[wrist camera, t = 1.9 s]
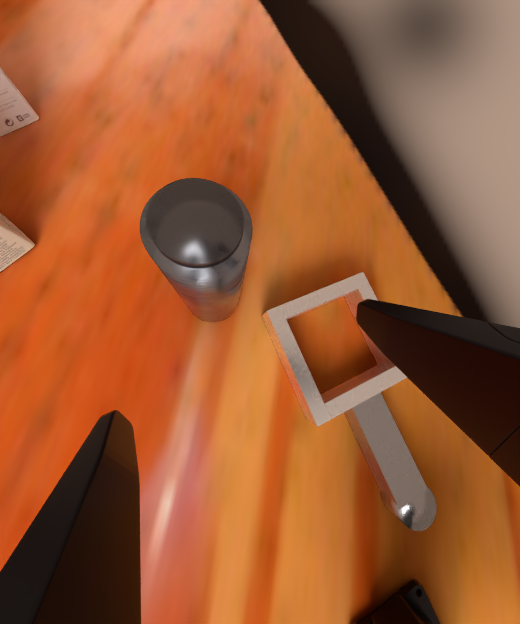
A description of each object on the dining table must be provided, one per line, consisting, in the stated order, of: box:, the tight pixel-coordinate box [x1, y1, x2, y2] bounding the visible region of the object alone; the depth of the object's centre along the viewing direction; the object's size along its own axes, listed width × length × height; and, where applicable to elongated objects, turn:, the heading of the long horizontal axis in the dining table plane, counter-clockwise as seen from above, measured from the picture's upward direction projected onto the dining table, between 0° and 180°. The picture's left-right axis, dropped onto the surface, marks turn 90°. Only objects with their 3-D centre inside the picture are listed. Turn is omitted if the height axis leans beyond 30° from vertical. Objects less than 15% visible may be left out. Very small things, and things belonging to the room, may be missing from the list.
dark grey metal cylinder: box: [140, 178, 252, 322], centre depth 15 cm, size 5×5×12 cm
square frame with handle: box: [262, 272, 437, 531], centre depth 19 cm, size 20×9×2 cm, turn 23°
